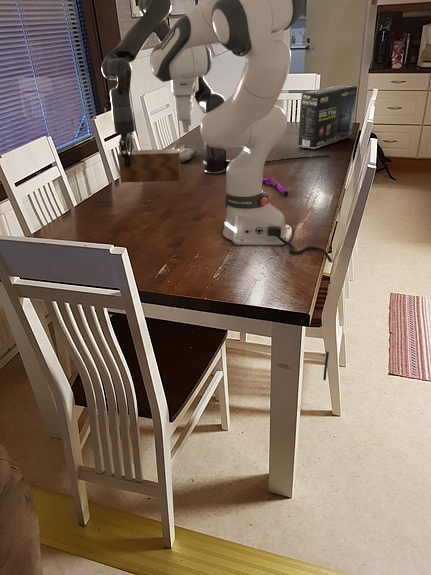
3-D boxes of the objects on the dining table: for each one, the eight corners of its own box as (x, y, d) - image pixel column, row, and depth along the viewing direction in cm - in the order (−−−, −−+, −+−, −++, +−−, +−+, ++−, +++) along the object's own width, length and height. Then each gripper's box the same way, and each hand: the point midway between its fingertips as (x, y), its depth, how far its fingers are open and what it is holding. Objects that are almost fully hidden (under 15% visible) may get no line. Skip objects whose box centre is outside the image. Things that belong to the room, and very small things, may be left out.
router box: (314, 151, 231) (318, 94, 217) (296, 148, 237) (299, 92, 224) (352, 138, 251) (358, 85, 238) (335, 135, 258) (340, 83, 245)
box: (181, 175, 181) (179, 148, 176) (179, 180, 176) (177, 153, 171) (124, 177, 182) (120, 150, 176) (121, 182, 177) (117, 155, 171)
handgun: (255, 182, 193) (255, 177, 192) (273, 180, 195) (273, 175, 194) (269, 198, 176) (269, 193, 175) (289, 195, 177) (289, 191, 176)
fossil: (184, 156, 217) (163, 136, 220) (174, 174, 223) (154, 154, 227) (205, 153, 231) (186, 134, 234) (195, 171, 237) (176, 152, 240)
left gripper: (117, 114, 174) (123, 159, 182) (108, 122, 161) (116, 170, 170) (136, 114, 173) (142, 158, 182) (129, 122, 161) (136, 169, 170)
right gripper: (177, 80, 159) (180, 122, 166) (172, 90, 142) (175, 136, 149) (196, 80, 159) (198, 121, 166) (192, 90, 142) (194, 136, 149)
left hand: (129, 163), depth 176 cm, fingers closed on box, 6 cm apart
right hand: (187, 128), depth 158 cm, fingers open, 8 cm apart
